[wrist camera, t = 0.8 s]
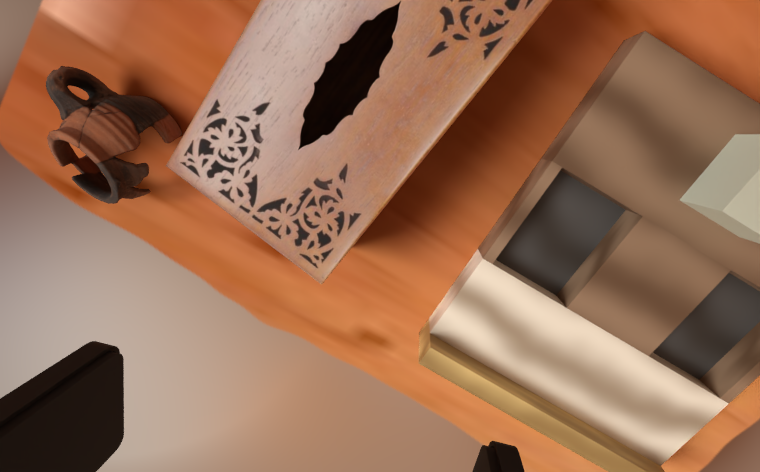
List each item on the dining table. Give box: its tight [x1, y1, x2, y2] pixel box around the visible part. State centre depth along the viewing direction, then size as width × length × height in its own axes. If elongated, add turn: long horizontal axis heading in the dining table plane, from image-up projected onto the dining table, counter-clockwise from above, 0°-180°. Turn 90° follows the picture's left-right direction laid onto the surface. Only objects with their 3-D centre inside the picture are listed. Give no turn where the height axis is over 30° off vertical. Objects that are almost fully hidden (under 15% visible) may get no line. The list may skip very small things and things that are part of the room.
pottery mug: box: [46, 66, 182, 204], centre depth 35 cm, size 12×10×8 cm
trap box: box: [419, 31, 760, 472], centre depth 33 cm, size 32×27×6 cm
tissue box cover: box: [166, 0, 552, 284], centre depth 29 cm, size 26×14×10 cm, turn 142°
